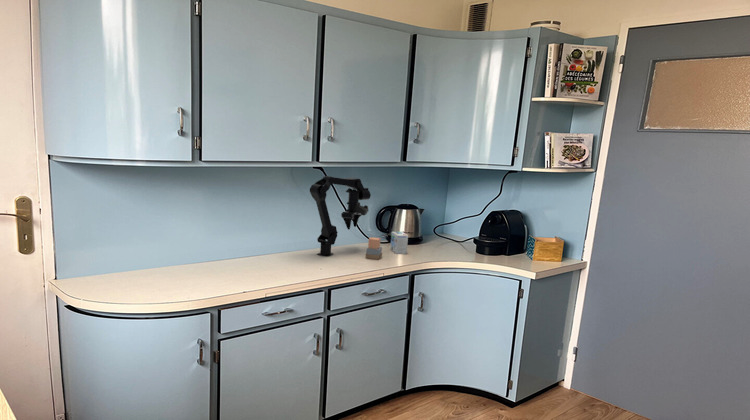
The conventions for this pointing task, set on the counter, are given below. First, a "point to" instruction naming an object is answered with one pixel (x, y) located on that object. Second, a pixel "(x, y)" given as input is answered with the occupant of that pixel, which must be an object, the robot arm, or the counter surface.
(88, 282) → the counter surface
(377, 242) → the terracotta cube
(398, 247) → the light bulb box
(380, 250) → the slate grey block
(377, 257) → the walnut block
